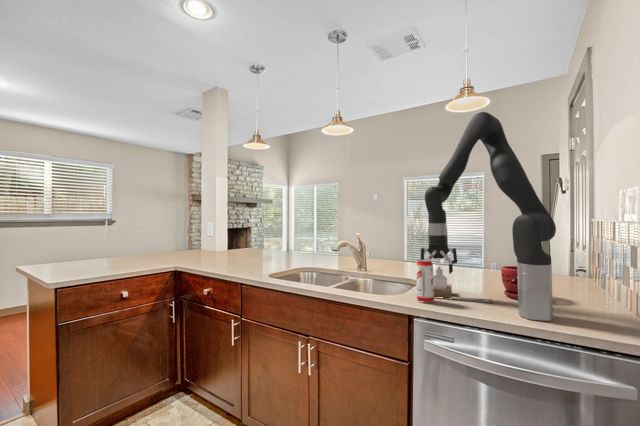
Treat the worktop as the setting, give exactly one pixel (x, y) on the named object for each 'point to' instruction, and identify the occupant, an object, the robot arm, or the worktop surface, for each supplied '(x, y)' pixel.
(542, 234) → the robot arm
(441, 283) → the eye dropper bottle
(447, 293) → the hammer
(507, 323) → the worktop surface
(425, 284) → the beer can
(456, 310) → the worktop surface
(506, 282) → the plant pot
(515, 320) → the worktop surface
